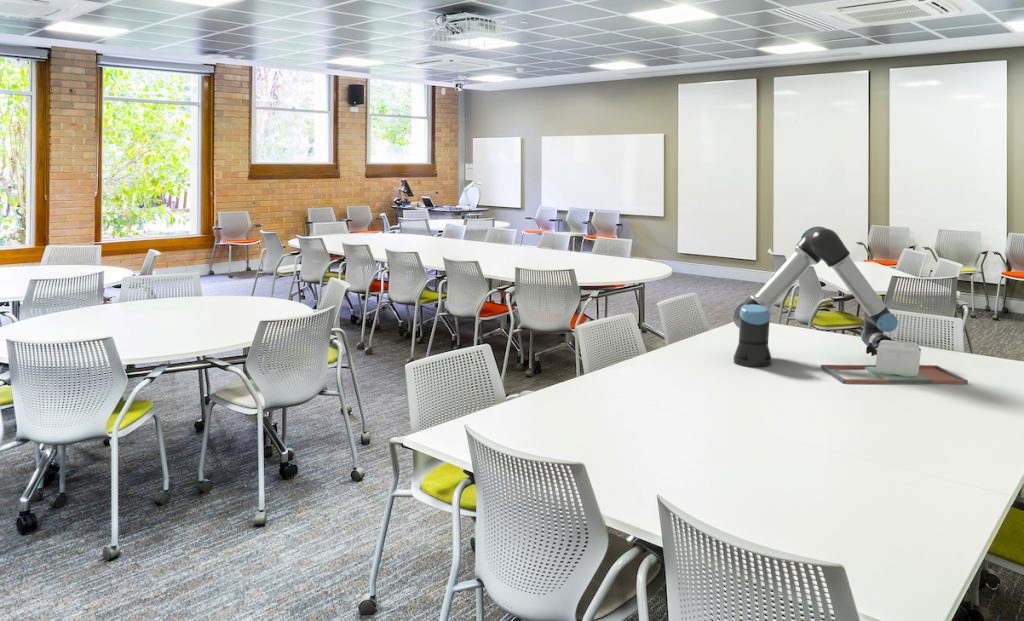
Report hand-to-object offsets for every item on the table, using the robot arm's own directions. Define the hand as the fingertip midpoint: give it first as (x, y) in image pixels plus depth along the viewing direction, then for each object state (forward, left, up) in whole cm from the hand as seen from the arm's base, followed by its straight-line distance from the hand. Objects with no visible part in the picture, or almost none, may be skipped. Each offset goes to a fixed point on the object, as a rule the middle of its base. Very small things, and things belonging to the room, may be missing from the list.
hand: (900, 355), depth 302 cm
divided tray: (-2, +2, -9) cm, 9 cm away
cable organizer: (0, +2, -8) cm, 8 cm away
